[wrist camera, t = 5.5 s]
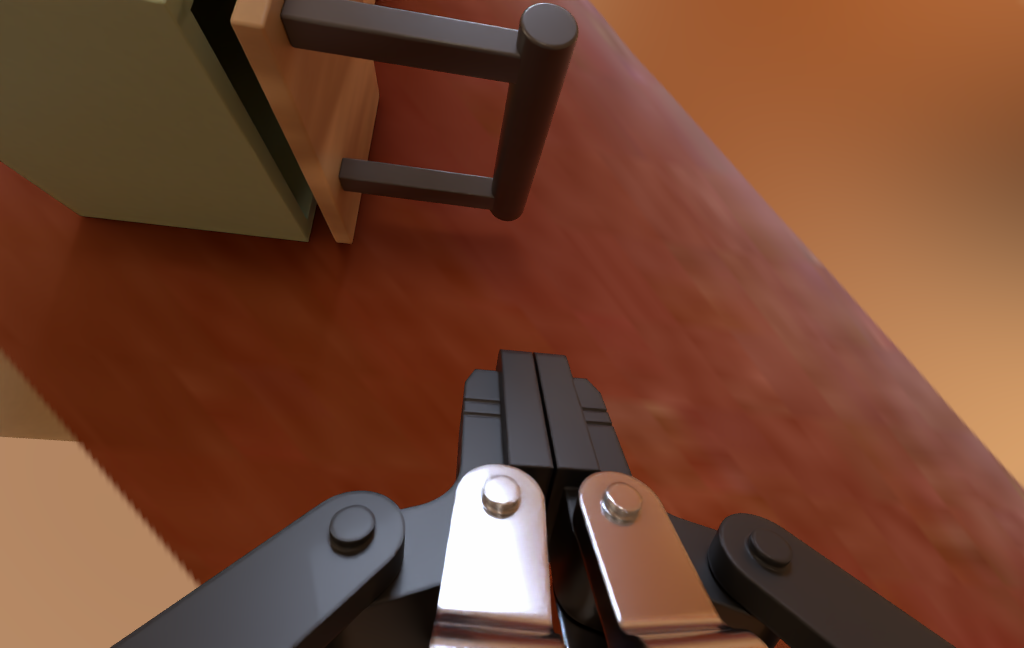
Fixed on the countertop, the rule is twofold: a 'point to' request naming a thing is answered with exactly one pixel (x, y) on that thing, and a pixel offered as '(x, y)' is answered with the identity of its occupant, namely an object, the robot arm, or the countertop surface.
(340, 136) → the brown panel dark handle
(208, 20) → the cabinet
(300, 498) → the countertop surface
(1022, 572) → the countertop surface
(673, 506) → the countertop surface
